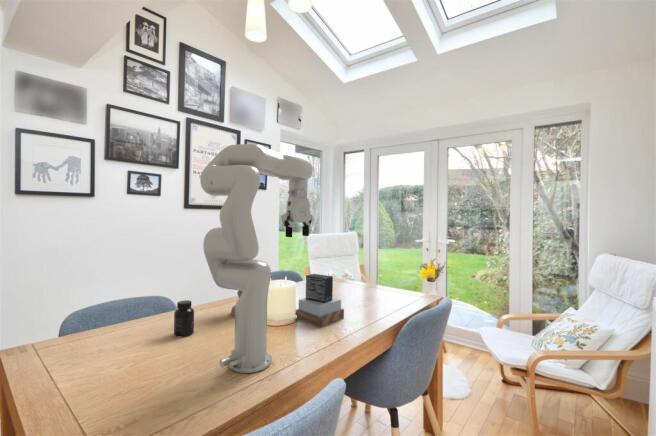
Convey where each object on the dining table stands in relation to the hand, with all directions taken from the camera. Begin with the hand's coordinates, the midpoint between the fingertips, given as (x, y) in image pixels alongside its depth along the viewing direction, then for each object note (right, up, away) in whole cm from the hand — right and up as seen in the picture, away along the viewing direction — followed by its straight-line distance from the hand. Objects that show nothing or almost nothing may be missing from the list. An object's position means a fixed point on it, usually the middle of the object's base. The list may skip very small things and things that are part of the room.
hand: (297, 236), depth 127 cm
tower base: (+9, -37, +9) cm, 39 cm away
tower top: (+9, -33, +9) cm, 35 cm away
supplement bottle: (-41, -36, -10) cm, 56 cm away
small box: (+9, -28, +9) cm, 31 cm away
